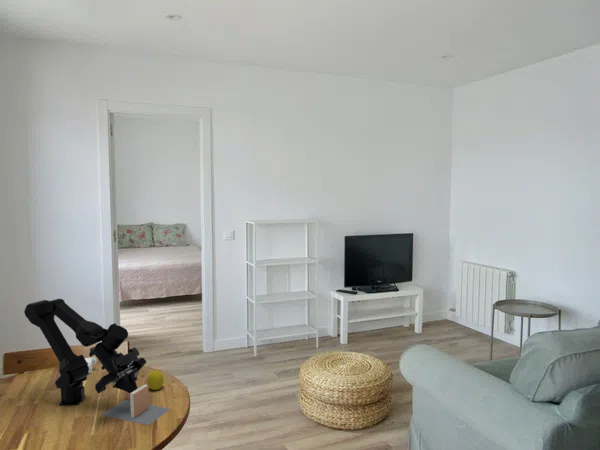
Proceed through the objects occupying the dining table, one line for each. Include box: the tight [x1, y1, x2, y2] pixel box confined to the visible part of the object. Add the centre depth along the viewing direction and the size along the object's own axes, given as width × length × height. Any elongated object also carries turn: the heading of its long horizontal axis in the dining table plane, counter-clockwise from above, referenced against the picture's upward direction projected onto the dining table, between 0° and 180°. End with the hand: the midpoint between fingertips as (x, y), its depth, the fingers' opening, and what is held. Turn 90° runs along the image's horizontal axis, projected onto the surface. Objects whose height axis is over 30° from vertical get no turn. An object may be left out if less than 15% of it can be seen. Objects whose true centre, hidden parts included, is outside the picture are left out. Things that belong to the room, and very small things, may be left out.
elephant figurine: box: [84, 355, 98, 374], centre depth 182 cm, size 7×8×6 cm
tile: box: [129, 384, 150, 418], centre depth 146 cm, size 2×7×8 cm, turn 160°
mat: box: [100, 399, 171, 426], centre depth 147 cm, size 19×11×1 cm, turn 70°
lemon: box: [147, 369, 164, 391], centre depth 164 cm, size 6×6×8 cm
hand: (137, 394), depth 146 cm, fingers closed, pressing on tile
